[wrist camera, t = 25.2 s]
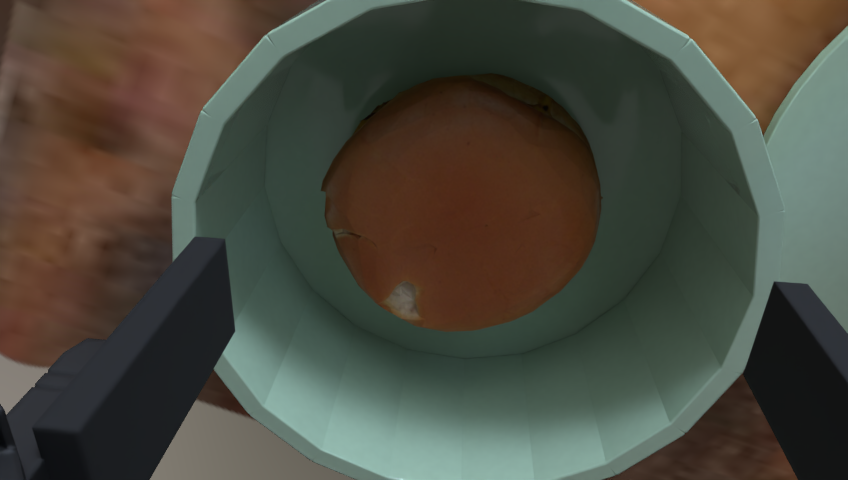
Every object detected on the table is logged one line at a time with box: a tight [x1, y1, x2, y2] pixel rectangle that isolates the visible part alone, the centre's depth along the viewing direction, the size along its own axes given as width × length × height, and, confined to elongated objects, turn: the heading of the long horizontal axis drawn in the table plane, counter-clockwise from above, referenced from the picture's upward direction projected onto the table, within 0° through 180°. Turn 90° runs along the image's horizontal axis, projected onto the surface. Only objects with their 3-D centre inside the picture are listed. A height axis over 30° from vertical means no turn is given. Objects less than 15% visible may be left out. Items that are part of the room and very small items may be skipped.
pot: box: [172, 0, 785, 480], centre depth 23 cm, size 17×17×8 cm
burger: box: [321, 73, 603, 332], centre depth 24 cm, size 10×9×5 cm
